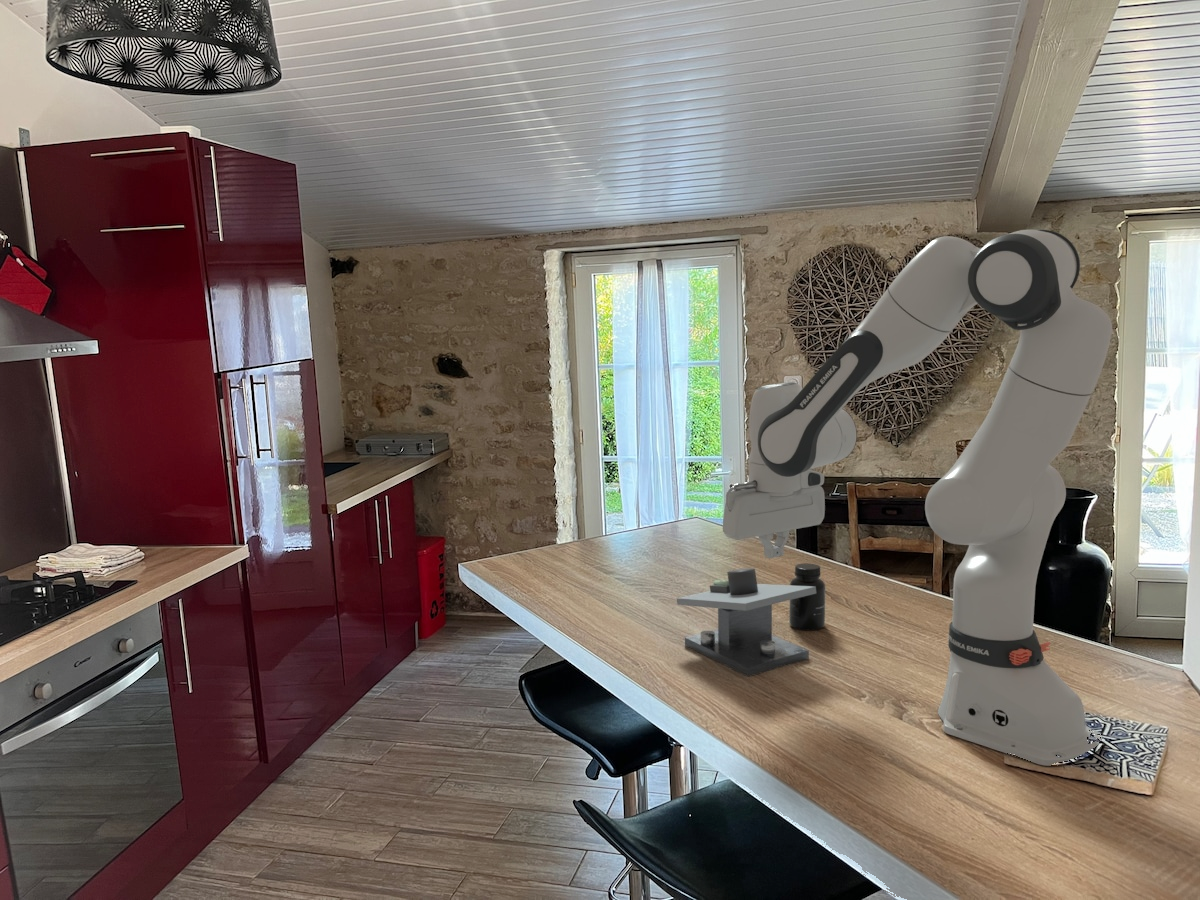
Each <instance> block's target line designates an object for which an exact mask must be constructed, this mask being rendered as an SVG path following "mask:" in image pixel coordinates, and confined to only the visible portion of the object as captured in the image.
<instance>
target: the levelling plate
mask: <svg viewBox="0 0 1200 900" xmlns="http://www.w3.org/2000/svg"><path fill="white" fill-rule="evenodd" d="M726 573H727V574H726V575H727V580H724V579H720V580H716V579H715V580H714V581H713V584H712V585H711V584H710V585H709V590H707V591H703V592H698V593H694V594H690V595H686V596H681V597H677V598H676V605H677V606H685V607H686V606H688V607H689V606H690V607H699V608H711V609H718V608H719V609H732V610H744V611H747V610H751V609H755V608H759V607H763V606H767V605H771V604H772V605H774V604H779V603H782V602H787V601H790V600H792V599H796V598H800V597H804V596H808V595H812V594H816V587H814V586H793V585H790V584H786V585H785V584H767V583H758V582H757V573H756V568H755V567H753V568H752V567H748V568H737V569H733V570H728V571H727V572H726Z"/></svg>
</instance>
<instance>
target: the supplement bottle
mask: <svg viewBox="0 0 1200 900" xmlns="http://www.w3.org/2000/svg"><path fill="white" fill-rule="evenodd" d="M794 566H795V567H794V578H792V579H791V580H790V582H789V585H793V586H814V587H816V594H812V595H808V596H804V597H800V598H796V599H792V600H789V613H788V614H789V616H788V618H789V624H790V627H792V628H794V629H796V630H800V631H818V630H820V629H823V627H825V625H826V624H825V623H826V622H825V621H826V620H825V619H826V584H825V582H824V580H823V579H822V578H820V577H821V566H820V565H819V564H815V563H798V564H796V565H794Z"/></svg>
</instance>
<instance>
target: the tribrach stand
mask: <svg viewBox="0 0 1200 900" xmlns="http://www.w3.org/2000/svg"><path fill="white" fill-rule="evenodd" d="M772 605H773V604H771V605H767V606H763V607H759V608H755V609H751V610H747V611H744V610H732V609H719V608H717V626H718V627H717V629H712V630H703V631H701V632H700V633H696V634H694V635H690V636H685V637H684V646H685V647H686V648H688V649H691V650H693V651H695V652H697V653H699V654H701V655H704V656H706V657H707V658H709V659H712V660H713V661H715V662H716V663H719V664H721V665H724V666H725V667H728V668H729V669H731V670H734V671H735V672H738V673H739V674H742V675H744V676H746V677H752V676H754V675H759V674H761V673H762V674H763V673H765V672H768V671H772V670H775V669H778V668H783V667H787V666H789V665H792V664H796V663H800V662H802V661H806V660H809V659H810V649H807V648H804V647H802V646H800V645H798V644H795V643H792V642H790V641H788V640H785V639H783V638H780V637H778V636H776V635H773V629H772V628H773V626H772V625H773V617H772V616H773V611H772V610H773V606H772Z"/></svg>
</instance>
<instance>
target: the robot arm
mask: <svg viewBox="0 0 1200 900" xmlns="http://www.w3.org/2000/svg"><path fill="white" fill-rule="evenodd" d="M1080 269H1081V259H1080V256H1079V252H1078V250H1077V249H1076V247H1075V245H1074V244H1073V242H1071V240H1069V238H1067V237H1066V236H1064V235H1062V234H1061V233H1059V232H1057V231H1053V230H1049V229H1020V230H1017V231H1013V232H1011V233H1008V234H1004V235H1001V236H998V237H995V238H993V239H991V240H990V241H988V242H987V243H986V244H984V245H983V247H977V246H976V245H974V244H973V243H972V242H970V241H968V240H966V239H964V238H960V237H959V236H957V237H956V236H951V235H950V236H949V235H943V236H940V237H939V236H938V237H936V238H935V239H933V240H931V241H930V242H929V243H928V244H927V245H925V247H923V249H921V250H920V251H919V252H918V253H917V254H916V255H915V256H914V257H913V258H912V259H911V260H910V261H909V262H908V263H907V265H905V266H904V267H903V269H902V270H900V272H899V273H898V275H896V276H895V278H894V280H893V281H892V282H891V283H890V285H889V286H888V288H887V289H886V290H885V291H884V293H883V294H882V295H881V297H880V298H878V299H879V300H877V302H876V303H875V304H874V306H873V307H872V308H871V310H869V312H868V314H867V315H866V316H865V318H864V319H862V321H861V322H860V323H859V324H858V326H857V327H856V328H855V329H854V330H853V331H852V332H851V334H850V335H849V336H848V337H847V338H846V339H845V340H844V342H843V343H842V344H841V345H840V346H838V348H837V349H836V350H835V351H834V352H833V353H832V354H831V356H830V357H829V358H827V360H826V361H825V362H824V364H822V366H821V367H820V368H819V369H818V370H817V371H816V373H815V374H814V375H813V376H812V377H811V378H810V380H809V381H808V382H806V385H804V387H802V386H801V385H800V384H798V383H796V382H793V381H792V382H791V381H789V382H781V383H774V384H767V385H763V386H760V387H758V388H757V389H756V390H755V391H754V393H753V395H752V398H751V402H750V408H749V421H748V423H749V425H748V427H749V429H748V433H749V434H748V436H749V440H750V444H751V446H750V448H751V449H750V454H749V457H748V481H747V482H743V483H740V482H739V483H733V484H732V487H730V488H729V489H728V490H727V492H726V494H725V502H724V503H725V505H724V510H723V516H722V517H723V518H722V532H723V534H724V535H725V537H727V538H728V539H732V540H735V541H740V540H745V539H749V538H756V537H758V539H759V541H760V543H761V545H762V547H763V555H764V557H765V558H766V559H769V560H770V559H774V558H779V557H783V556H784V551H785V546H786V543H787V542H788V540H789V538H790V531H793V530H797V529H798V530H799V529H802V528H809V527H813V526H819V525H821V524H822V522H823V520H824V519H825V513H826V512H825V511H826V505H825V504H826V503H825V502H826V501H825V499H826V497H825V491H824V488H823V487H822V485H824V483H825V475H824V473H822V472H820V471H816V470H815V469H817V468H821V467H825V466H827V465H831V464H834V463H838V462H839V461H842V460H844V459H846V458H848V457H849V456H850V455H851V454H852V453H853V451H854V449H855V447H856V444H857V442H858V441H857V439H858V430H857V425H856V422H855V420H854V419H853V416H851V414H850V413H849V412H848V411H847V410H846V409H845V408H844V407H846V405H847V404H848V403H849V402H850V401H851V399H852V398H853V397H854V396H855V395H856V394H858V392H860V391H861V390H862V389H864V387H866V386H867V385H870V384H871V383H873V382H875V381H876V380H878V379H880V378H883V377H885V376H887V375H890V374H892V373H896V372H898V371H901V370H904V369H907V368H909V367H912V366H914V365H915V366H916V365H917V364H918V363H920V362H922V361H923V360H924V359H926V358H927V357H928V356H929V355H930V354H932V353H933V352H934V351H935V350H936V349H937V348H938V347H939V346H940V345H942V344H943V342H944V341H945V340H946V338H948V337H949V335H950V333H952V332H953V330H954V329H955V328H956V326H957V325H958V324H959V323H960V321H961V320H962V318H964V316H965V315H966V314H967V313H968V312H970V310H971V309H972V308H974V307H976V305H979V306H980V308H982V309H984V310H985V311H986V312H988V313H989V314H990V315H992V316H995V317H996V318H997V319H999V320H1000V321H1001V322H1003V323H1004V324H1005V325H1007V326H1008V327H1010V329H1012V330H1014V331H1019V332H1020V333H1019V339H1018V343H1017V345H1016V348H1015V350H1014V353H1013V355H1012V358H1011V359H1010V361H1009V365H1008V367H1007V369H1006V372H1005V374H1004V376H1003V379H1002V380H1001V384H1000V386H999V388H998V390H997V393H996V396H995V398H994V400H993V402H992V404H991V406H990V409H989V411H988V413H987V415H986V416H985V418H984V420H983V422H982V424H981V425H980V427H979V428H978V430H977V431H976V432H975V434H974V436H973V437H972V438H971V439H970V441H969V443H968V444H967V446H966V447H965V448H964V449H963V451H962V452H961V454H960V455H959V457H958V458H957V460H956V461H955V462H954V464H953V465H952V466H951V468H950V469H949V470H948V471H947V472H946V473H945V474H944V475H943V476H942V477H941V478H940V479H939V480H937V482H935V483H934V484H933V485H932V486H931V487H930V489H929V490H928V492H927V494H926V497H925V504H924V511H925V517H926V520H927V523H928V525H929V527H930V529H932V531H933V532H934V534H935V535H936V536H938V537H939V538H940V539H941V540H944V541H945V542H947V543H949V544H954V545H961V546H968V548H967V550H966V553H965V555H964V557H963V559H962V561H961V562H960V563H959V565H958V566H957V568H956V570H955V572H954V577H953V589H952V590H953V592H952V594H953V595H952V621H951V622H950V623H949V627H948V644H947V645H948V649H949V652H950V657H949V666H948V673H947V677H946V678H947V679H946V683H945V687H944V692H943V694H942V699H941V702H940V704H939V707H938V709H937V713H938V715H939V717H940V719H941V721H942V722H943V725H942V730H943V732H944V733H945V734H948V735H950V736H953V737H956V738H959V739H962V740H964V741H968V742H971V743H973V744H976V745H981V746H983V747H985V748H989V749H992V750H995V751H998V752H1001V753H1003V754H1007V753H1008V754H1007V755H1010V753H1011V754H1015V755H1016V756H1018V757H1020V758H1019V759H1021V758H1023V760H1024V759H1026V760H1025V761H1027V760H1028V762H1030V761H1031V763H1034V764H1037V765H1039V766H1044V767H1046V766H1047V767H1051V765H1052V764H1054V763H1055V764H1056V763H1057V762H1063V761H1068V760H1070V759H1074V758H1076V757H1079V756H1080V755H1082V754H1084V753H1085V752H1087V751H1089V750H1091V749H1093V748H1095V747H1096V746H1097V745H1099V742H1092V744H1091V741H1090V744H1088V742H1089V740H1088V741H1087V737H1090V734H1091V733H1094V734H1095V735H1094V738H1098V739H1099V740H1100V741H1101V740H1102V737H1103V736H1102V737H1101V739H1100V736H1101V734H1102V733H1101V732H1099V731H1097V730H1095V729H1093V730H1092V732H1091V729H1092V728H1091V727H1089V726H1087V724H1086V713H1085V708H1084V704H1083V701H1082V699H1081V697H1080V696H1079V695H1078V693H1076V692H1075V691H1074V690H1073V689H1072V688H1071V687H1070V686H1069V685H1068V684H1067V683H1066V682H1065V681H1064V680H1063V679H1062V678H1061V676H1060V675H1058V673H1057V672H1055V671H1054V669H1053V668H1051V666H1050V665H1049V664H1048V663H1047V662H1046V661H1045V659H1044V657H1045V656H1044V654H1043V652H1046V651H1049V650H1050V649H1051V648H1050V647H1049V646H1050V645H1051V642H1050V641H1047V642H1044V643H1041V644H1040V641H1039V639H1038V636H1037V633H1036V631H1035V629H1034V618H1035V617H1034V615H1035V600H1036V585H1037V579H1038V574H1039V570H1040V566H1041V562H1042V560H1043V556H1044V551H1045V549H1046V545H1047V541H1048V539H1049V536H1050V532H1051V529H1052V526H1053V524H1054V521H1055V520H1056V517H1057V516H1058V514H1060V512H1061V510H1062V509H1063V507H1064V504H1065V501H1066V497H1067V488H1066V484H1065V482H1064V479H1063V477H1062V475H1061V474H1060V472H1059V471H1058V470H1057V469H1056V468H1055V467H1054V466H1052V465H1051V463H1052V462H1053V461H1054V460H1055V459H1056V458H1057V456H1058V455H1060V454H1061V453H1062V452H1063V451H1064V450H1065V449H1066V448H1067V447H1068V445H1069V444H1070V442H1071V440H1072V438H1073V435H1074V433H1075V431H1076V429H1077V427H1078V424H1079V423H1080V420H1081V419H1082V416H1083V415H1084V414H1083V413H1084V412H1085V410H1086V408H1087V406H1088V403H1089V402H1090V401H1089V400H1090V398H1091V397H1092V395H1093V392H1094V391H1095V388H1096V385H1097V383H1098V381H1099V378H1100V376H1101V373H1102V371H1103V367H1104V364H1105V362H1106V358H1107V355H1108V352H1109V348H1110V343H1111V338H1112V333H1113V323H1112V320H1111V318H1110V316H1109V315H1108V313H1107V312H1105V310H1104V309H1102V308H1101V307H1100V306H1099V305H1097V304H1095V303H1093V302H1092V301H1089V300H1086V299H1082V298H1080V296H1077V295H1076V294H1075V293H1074V291H1073V288H1074V286H1075V285H1076V283H1077V280H1078V278H1079V275H1080ZM812 469H813V470H812ZM774 534H775V535H776V538H775V541H774V544H773V543H772V541H771V540H773V539H774ZM1089 730H1090V731H1089ZM1094 730H1095V731H1094ZM1088 731H1089V732H1088ZM1093 731H1094V732H1093ZM1096 731H1097V732H1096ZM1096 734H1100V736H1098V735H1096ZM1092 735H1093V734H1092ZM1091 737H1092V736H1091ZM1056 755H1058V756H1061V757H1056ZM1016 756H1015V757H1016ZM1018 757H1017V758H1018Z"/></svg>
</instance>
